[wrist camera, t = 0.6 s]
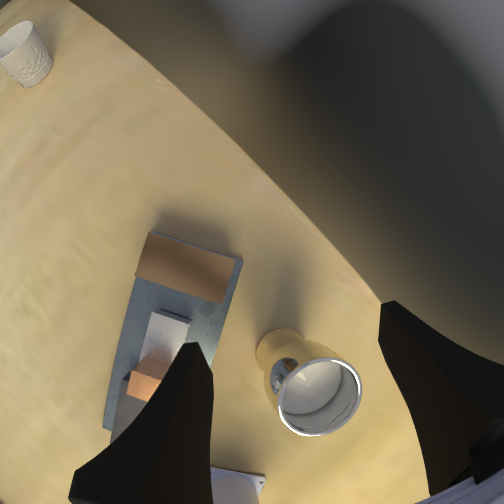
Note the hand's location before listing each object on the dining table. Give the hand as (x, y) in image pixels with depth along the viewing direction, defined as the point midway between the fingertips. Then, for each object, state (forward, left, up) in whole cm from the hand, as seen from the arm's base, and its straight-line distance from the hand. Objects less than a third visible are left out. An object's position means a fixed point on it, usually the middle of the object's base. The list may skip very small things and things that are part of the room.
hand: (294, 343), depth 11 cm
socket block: (+1, +7, -24) cm, 25 cm away
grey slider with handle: (-12, +7, -22) cm, 26 cm away
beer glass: (-5, -6, -24) cm, 25 cm away
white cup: (+23, +44, -24) cm, 55 cm away
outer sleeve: (-9, +7, -24) cm, 26 cm away
